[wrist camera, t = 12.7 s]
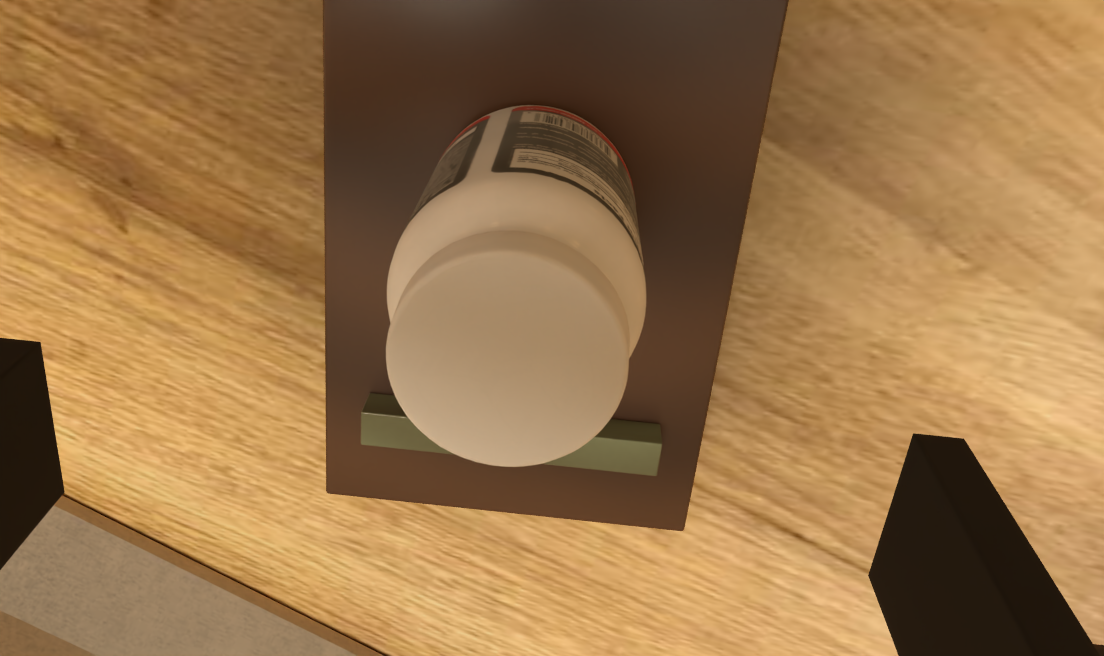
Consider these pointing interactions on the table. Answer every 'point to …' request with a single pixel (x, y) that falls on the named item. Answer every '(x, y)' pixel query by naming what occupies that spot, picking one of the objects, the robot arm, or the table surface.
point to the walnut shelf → (661, 204)
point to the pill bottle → (517, 290)
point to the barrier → (138, 600)
